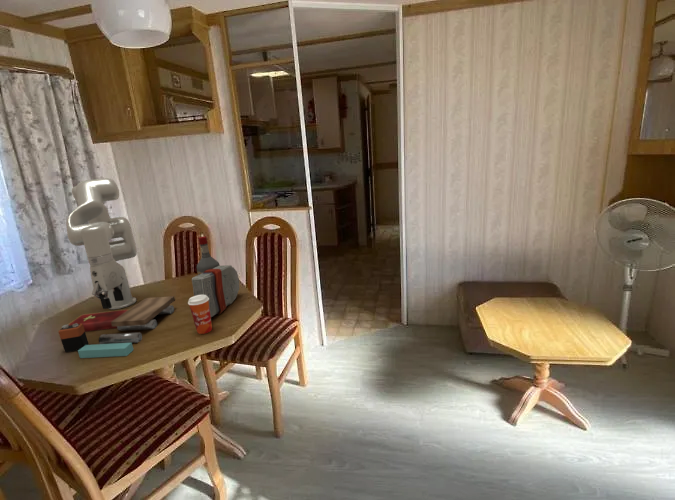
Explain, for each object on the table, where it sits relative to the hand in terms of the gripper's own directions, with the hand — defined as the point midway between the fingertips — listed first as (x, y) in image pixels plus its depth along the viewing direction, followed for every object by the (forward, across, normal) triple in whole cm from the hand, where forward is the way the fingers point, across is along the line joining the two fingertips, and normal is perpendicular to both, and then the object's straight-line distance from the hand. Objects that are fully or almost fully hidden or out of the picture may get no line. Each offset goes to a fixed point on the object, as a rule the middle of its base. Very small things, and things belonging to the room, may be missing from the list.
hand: (113, 303), depth 138 cm
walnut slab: (+12, +17, 0) cm, 20 cm away
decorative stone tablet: (+16, +26, -30) cm, 42 cm away
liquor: (+16, +41, -20) cm, 48 cm away
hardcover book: (+16, +15, +21) cm, 31 cm away
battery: (+16, -5, +16) cm, 23 cm away
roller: (+16, -2, 0) cm, 16 cm away
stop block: (+15, -10, 0) cm, 18 cm away
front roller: (+16, +10, 0) cm, 18 cm away
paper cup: (+16, +5, -31) cm, 35 cm away
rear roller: (+16, +24, 0) cm, 28 cm away
